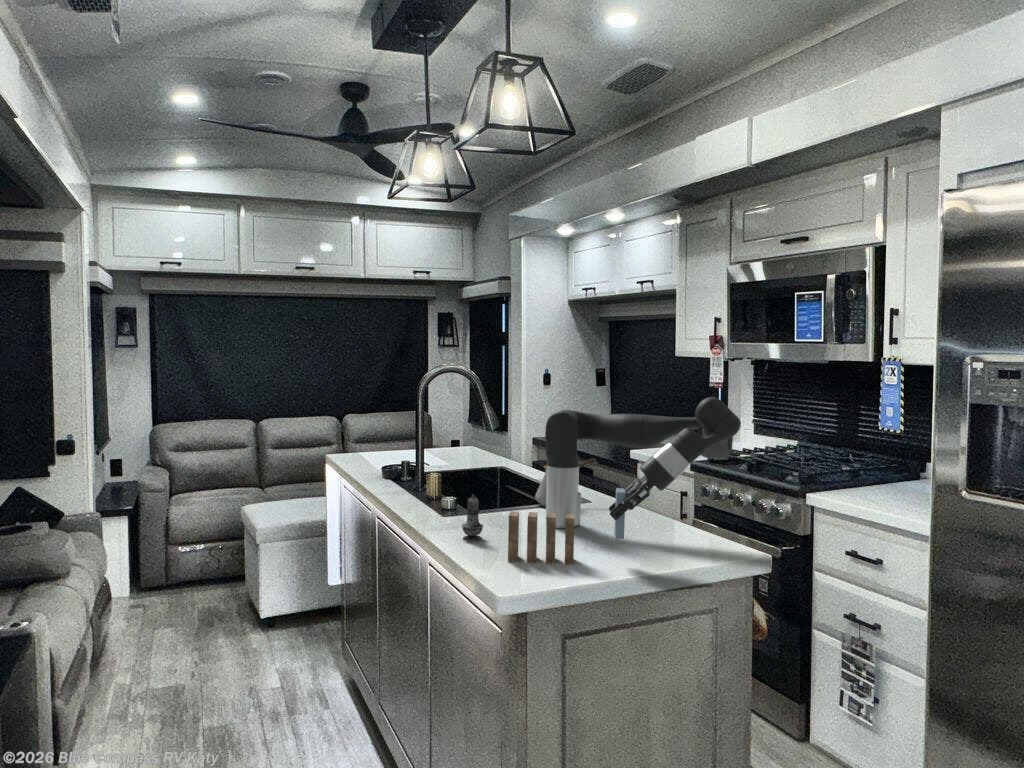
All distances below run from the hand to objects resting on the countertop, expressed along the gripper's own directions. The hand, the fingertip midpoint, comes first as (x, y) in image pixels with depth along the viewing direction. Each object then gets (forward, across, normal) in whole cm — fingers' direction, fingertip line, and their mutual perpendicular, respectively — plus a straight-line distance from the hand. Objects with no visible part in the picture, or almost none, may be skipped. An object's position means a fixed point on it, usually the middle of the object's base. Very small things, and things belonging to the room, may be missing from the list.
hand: (612, 514), depth 176 cm
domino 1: (+25, 0, +8) cm, 26 cm away
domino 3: (+19, 0, +2) cm, 19 cm away
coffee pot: (+17, +67, 0) cm, 69 cm away
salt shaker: (+34, +18, +16) cm, 42 cm away
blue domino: (+2, 0, -5) cm, 6 cm away
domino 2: (+22, 0, +5) cm, 22 cm away
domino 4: (+15, 0, -2) cm, 15 cm away
